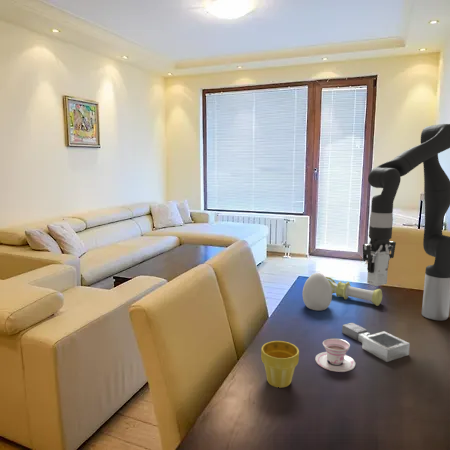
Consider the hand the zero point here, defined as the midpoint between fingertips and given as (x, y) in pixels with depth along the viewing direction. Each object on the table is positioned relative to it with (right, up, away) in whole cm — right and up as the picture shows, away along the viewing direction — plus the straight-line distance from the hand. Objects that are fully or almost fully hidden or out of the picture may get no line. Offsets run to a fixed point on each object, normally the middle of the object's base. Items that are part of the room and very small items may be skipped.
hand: (377, 270), depth 138 cm
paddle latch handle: (-5, -24, -7) cm, 26 cm away
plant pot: (-39, -28, -30) cm, 57 cm away
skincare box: (0, -5, +1) cm, 5 cm away
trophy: (+1, -17, +37) cm, 41 cm away
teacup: (-21, -26, -19) cm, 38 cm away
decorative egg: (-16, -19, +27) cm, 36 cm away
